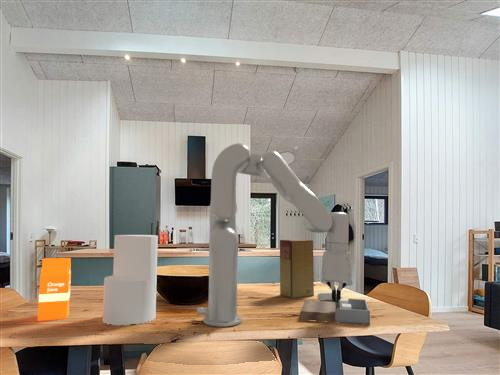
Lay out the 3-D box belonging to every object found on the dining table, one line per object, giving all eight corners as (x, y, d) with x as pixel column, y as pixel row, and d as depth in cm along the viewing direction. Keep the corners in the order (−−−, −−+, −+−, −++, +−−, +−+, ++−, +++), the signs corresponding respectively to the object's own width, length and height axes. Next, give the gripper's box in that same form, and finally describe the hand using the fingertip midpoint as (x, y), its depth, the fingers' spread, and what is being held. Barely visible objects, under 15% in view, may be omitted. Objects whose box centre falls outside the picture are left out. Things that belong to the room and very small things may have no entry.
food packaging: (301, 292, 176) (301, 239, 178) (315, 295, 168) (314, 240, 170) (278, 295, 169) (278, 239, 171) (291, 298, 161) (291, 240, 163)
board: (300, 320, 126) (300, 311, 127) (305, 308, 144) (305, 300, 144) (335, 322, 124) (335, 313, 124) (335, 310, 141) (335, 302, 141)
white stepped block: (129, 310, 139) (132, 234, 141) (166, 315, 131) (168, 235, 133) (90, 320, 123) (94, 236, 126) (129, 328, 115) (132, 237, 118)
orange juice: (41, 315, 130) (44, 257, 132) (69, 313, 133) (72, 256, 135) (37, 320, 123) (40, 259, 125) (66, 318, 126) (69, 258, 128)
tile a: (339, 300, 135) (348, 300, 134) (340, 297, 139) (348, 298, 138) (339, 313, 135) (348, 313, 134) (340, 310, 139) (348, 310, 138)
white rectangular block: (342, 306, 125) (351, 306, 125) (341, 303, 130) (350, 304, 129) (342, 320, 125) (351, 320, 124) (342, 316, 129) (350, 317, 129)
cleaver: (352, 309, 143) (352, 304, 143) (327, 309, 143) (327, 303, 143) (335, 295, 172) (335, 290, 173) (314, 295, 173) (314, 290, 173)
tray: (335, 322, 124) (335, 308, 124) (335, 310, 141) (335, 298, 142) (369, 325, 121) (369, 310, 122) (366, 311, 139) (365, 299, 139)
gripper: (314, 247, 128) (313, 301, 126) (360, 249, 124) (359, 306, 122) (316, 246, 135) (314, 297, 133) (358, 248, 131) (358, 301, 130)
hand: (336, 301), depth 128 cm, fingers closed
